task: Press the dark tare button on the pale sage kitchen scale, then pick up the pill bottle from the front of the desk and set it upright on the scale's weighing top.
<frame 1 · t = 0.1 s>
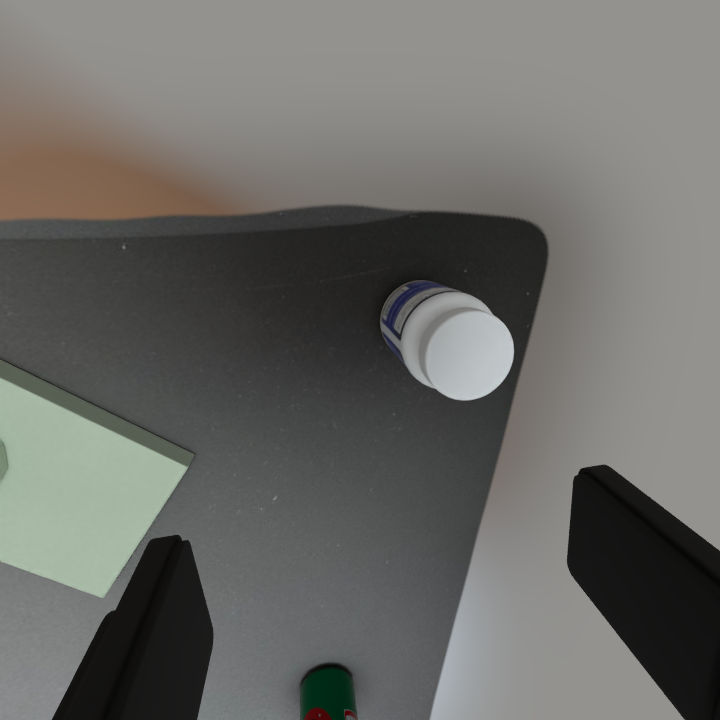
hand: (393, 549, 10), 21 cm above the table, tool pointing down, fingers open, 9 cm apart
soda can: (326, 680, 40), on the table
pill bottle: (416, 317, 30), on the table
scale: (46, 473, 30), on the table
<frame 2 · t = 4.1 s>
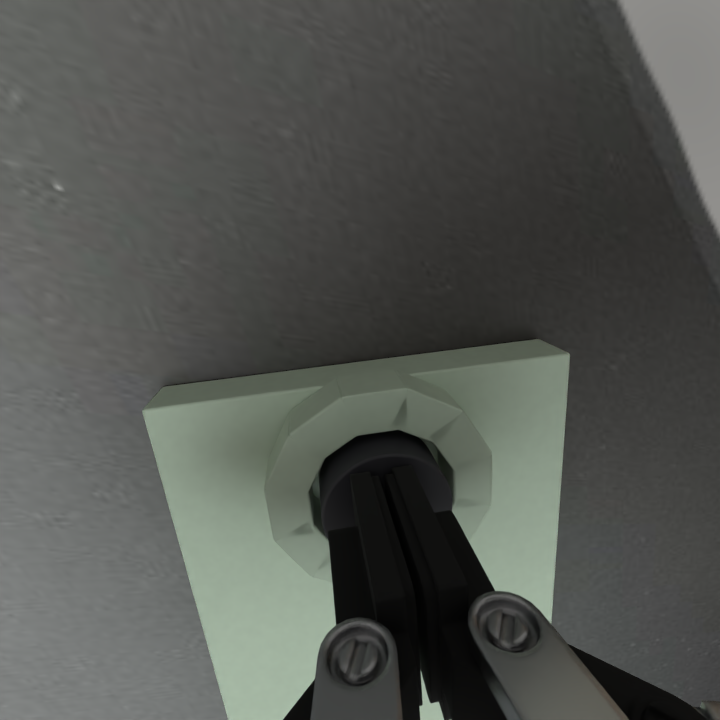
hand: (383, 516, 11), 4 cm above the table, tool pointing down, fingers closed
tare button: (382, 494, 12), point 3 cm above the table, slide at -0.6 cm, touching gripper
scale: (376, 549, 17), on the table
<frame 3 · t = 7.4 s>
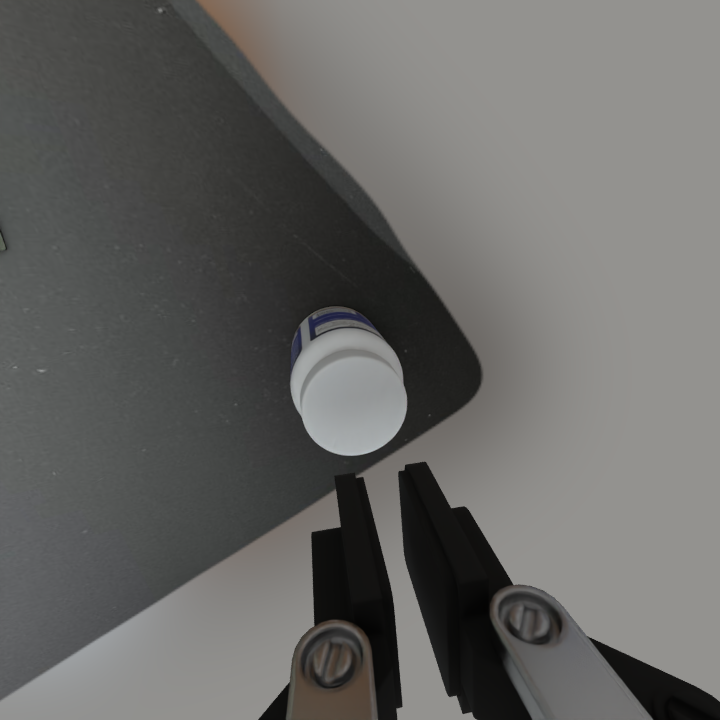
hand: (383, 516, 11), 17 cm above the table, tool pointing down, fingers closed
pill bottle: (335, 346, 27), on the table
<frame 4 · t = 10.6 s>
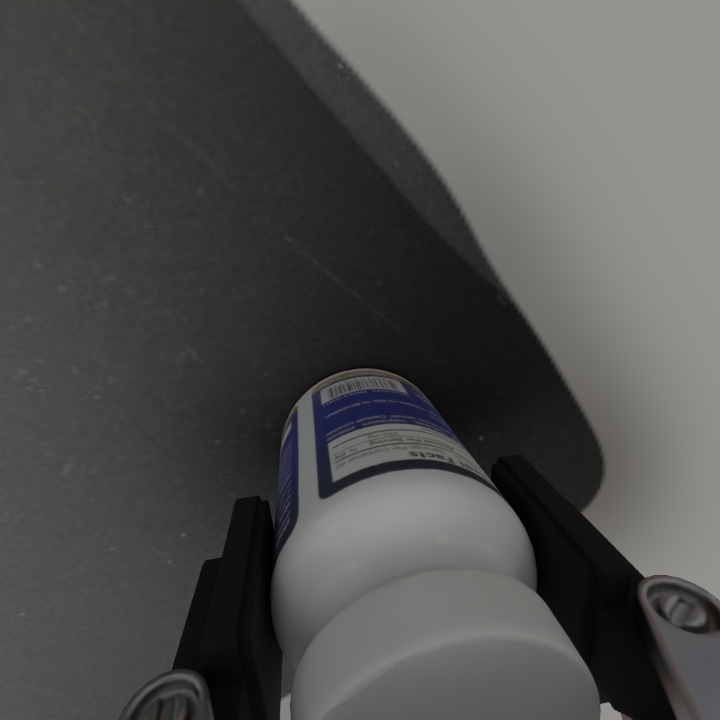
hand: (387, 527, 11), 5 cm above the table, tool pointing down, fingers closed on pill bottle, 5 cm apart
pill bottle: (360, 434, 16), on the table, touching gripper
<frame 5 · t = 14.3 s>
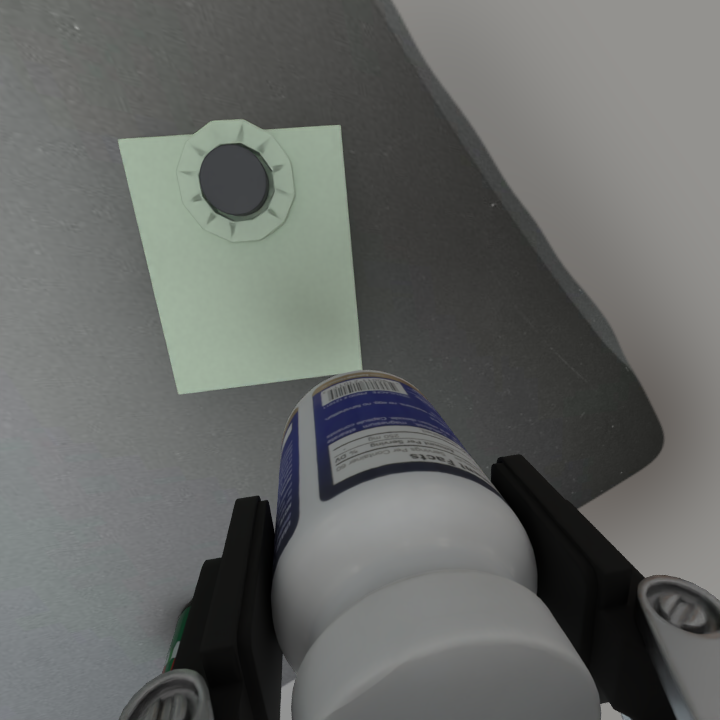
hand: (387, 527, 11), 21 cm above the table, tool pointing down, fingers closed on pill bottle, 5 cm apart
soda can: (209, 615, 37), on the table
tare button: (235, 182, 23), point 4 cm above the table, slide at 0.1 cm
pill bottle: (360, 435, 16), point 16 cm above the table, touching gripper
scale: (256, 266, 29), on the table
when the fingers open (7 cm above the table, at t = 18.4 s): pill bottle stays where it is, resting on scale.
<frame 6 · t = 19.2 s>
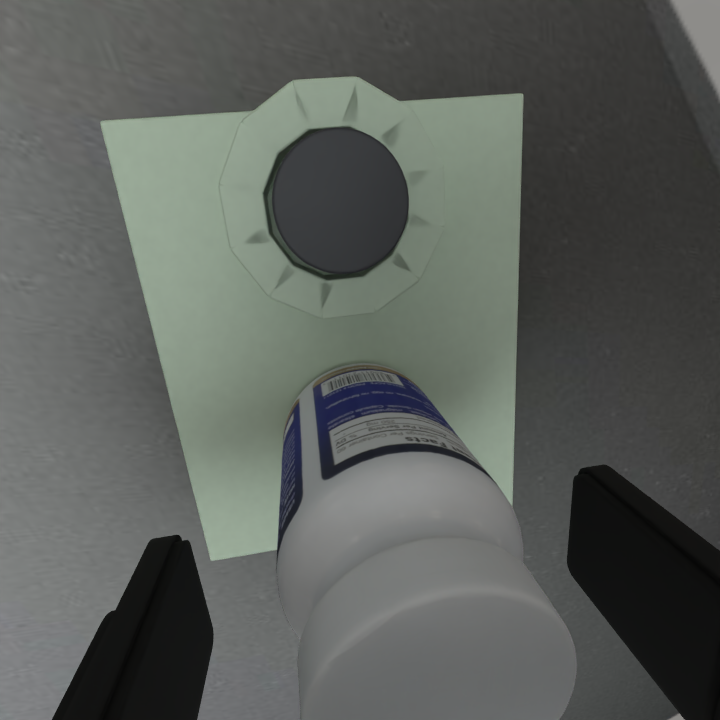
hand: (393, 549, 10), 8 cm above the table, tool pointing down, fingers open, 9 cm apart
tare button: (339, 206, 12), point 4 cm above the table, slide at 0.1 cm
pill bottle: (358, 426, 16), point 2 cm above the table, touching scale
scale: (343, 342, 17), on the table
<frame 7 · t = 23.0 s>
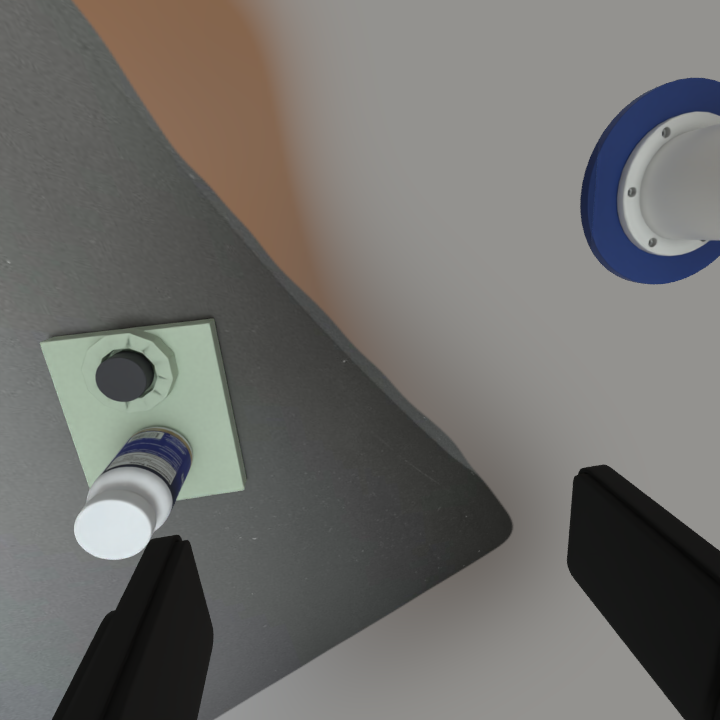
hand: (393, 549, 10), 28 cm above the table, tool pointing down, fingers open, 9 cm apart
tare button: (125, 376, 32), point 4 cm above the table, slide at 0.1 cm
pill bottle: (161, 452, 37), point 2 cm above the table, touching scale
scale: (157, 413, 37), on the table
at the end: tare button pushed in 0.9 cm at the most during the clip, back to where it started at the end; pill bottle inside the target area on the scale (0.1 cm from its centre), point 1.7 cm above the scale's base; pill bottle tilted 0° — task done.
